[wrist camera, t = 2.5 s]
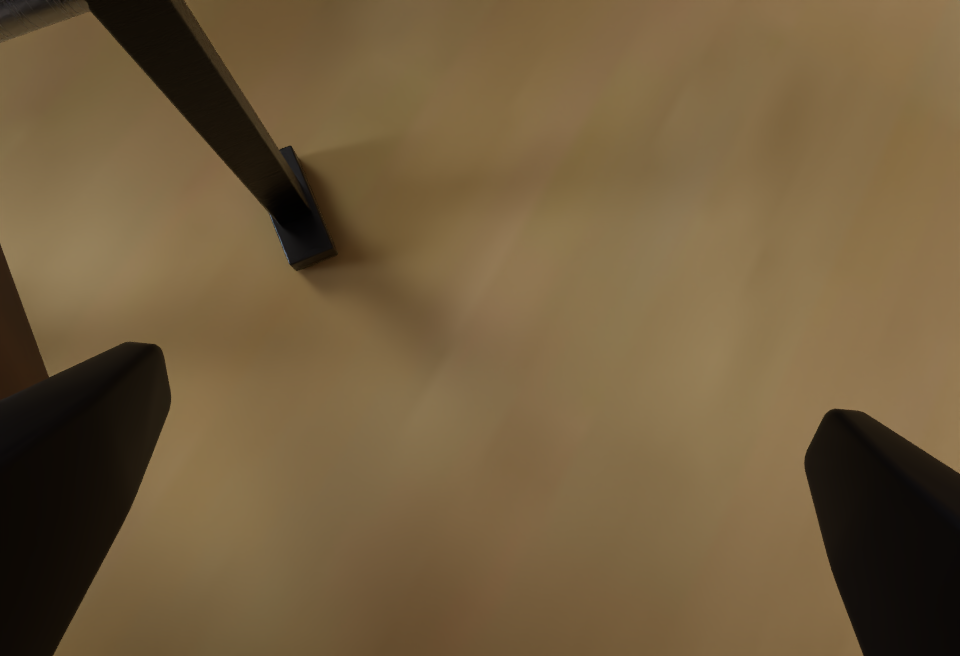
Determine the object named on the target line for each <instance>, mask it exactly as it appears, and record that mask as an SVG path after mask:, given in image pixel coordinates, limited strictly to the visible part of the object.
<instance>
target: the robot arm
mask: <svg viewBox="0 0 960 656" xmlns="http://www.w3.org/2000/svg"><path fill="white" fill-rule="evenodd" d="M170 404H171V391H170V386H169V381H168V375H167V370H166V365H165V360H164V355H163V352H162V350H161V348H160V347H159V346H157V345H156V344H148V343H138V342H125V343H122V344H120V345H118V346H116V347H114V348H112V349H109V350H107V351H105V352H103V353H101V354H99V355H97V356H94V357H92V358H90V359H88V360H86V361H84V362H82V363H79V364H77V365H75V366H73V367H71V368H69V369H67V370H64V371H62V372H60V373H58V374H56V375H54V376H52V377H49V378H47V379H45V380H43V381H41V382H39V383H37V384H34V385H32V386H30V387H28V388H26V389H24V390H22V391H20V392H17V393H15V394H13V395H11V396H9V397H7V398H5V399H2V400H0V656H53V654H54V652H55V650H56V649H57V647H58V645H59V643H60V641H61V639H62V637H63V635H64V634H65V632H66V630H67V628H68V626H69V624H70V622H71V620H72V619H73V617H74V615H75V613H76V611H77V609H78V607H79V605H80V604H81V602H82V600H83V598H84V596H85V594H86V592H87V590H88V588H89V587H90V585H91V583H92V581H93V579H94V577H95V575H96V573H97V572H98V570H99V568H100V566H101V564H102V562H103V560H104V558H105V557H106V555H107V553H108V551H109V549H110V547H111V545H112V543H113V542H114V540H115V538H116V536H117V534H118V532H119V530H120V528H121V526H122V525H123V523H124V521H125V518H126V516H127V514H128V512H129V510H130V508H131V506H132V504H133V501H134V499H135V497H136V494H137V492H138V489H139V487H140V484H141V482H142V479H143V476H144V474H145V471H146V469H147V466H148V464H149V461H150V458H151V456H152V453H153V451H154V448H155V446H156V443H157V441H158V438H159V435H160V433H161V430H162V428H163V425H164V423H165V420H166V417H167V415H168V412H169V409H170ZM804 464H805V472H806V476H807V480H808V484H809V487H810V491H811V495H812V499H813V503H814V507H815V511H816V514H817V518H818V522H819V526H820V530H821V534H822V537H823V541H824V545H825V549H826V553H827V556H828V560H829V563H830V566H831V570H832V573H833V575H834V578H835V581H836V584H837V587H838V590H839V592H840V595H841V597H842V600H843V603H844V605H845V608H846V611H847V613H848V616H849V618H850V621H851V624H852V626H853V629H854V632H855V634H856V637H857V640H858V642H859V645H860V647H861V650H862V653H863V655H864V656H960V474H959V473H958V472H956V471H954V470H953V469H951V468H950V467H948V466H947V465H945V464H944V463H942V462H940V461H939V460H937V459H936V458H934V457H933V456H931V455H930V454H928V453H926V452H925V451H923V450H922V449H920V448H919V447H917V446H916V445H914V444H912V443H911V442H909V441H908V440H906V439H905V438H903V437H902V436H900V435H898V434H897V433H895V432H894V431H892V430H891V429H889V428H888V427H886V426H884V425H883V424H881V423H880V422H878V421H877V420H875V419H874V418H872V417H870V416H869V415H867V414H866V413H864V412H861V411H855V410H844V409H832V410H830V411H828V412H827V413H826V414H825V415H824V417H823V419H822V421H821V423H820V425H819V427H818V429H817V431H816V433H815V435H814V437H813V439H812V441H811V443H810V445H809V447H808V449H807V452H806V455H805V462H804Z"/></svg>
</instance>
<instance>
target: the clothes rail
mask: <svg viewBox="0 0 960 656" xmlns="http://www.w3.org/2000/svg"><path fill="white" fill-rule="evenodd" d="M90 11H91V12H92V13H93V14H94V16H95V17H96V18H97V19H98V20H99V21H100V22H101V23H102V25H103V26H104V27H105V28H106V29H107V30H108V31H109V33H110V34H111V35H112V36H113V37H114V38H115V39H116V40H117V42H118V43H119V44H120V45H121V46H122V47H123V48H124V49H125V51H126V52H127V53H128V54H129V55H130V56H131V57H132V58H133V60H134V61H135V62H136V63H137V64H138V65H139V66H140V68H141V69H142V70H143V71H144V72H145V73H146V74H147V75H148V77H149V78H150V79H151V80H152V81H153V82H154V83H155V84H156V86H157V87H158V88H159V89H160V90H161V91H162V92H163V94H164V95H165V96H166V97H167V98H168V99H169V100H170V101H171V103H172V104H173V105H174V106H175V107H176V108H177V109H178V110H179V112H180V113H181V114H182V115H183V116H184V117H185V118H186V119H187V121H188V122H189V123H190V124H191V125H192V126H193V127H194V129H195V130H196V131H197V132H198V133H199V134H200V135H201V136H202V138H203V139H204V140H205V141H206V142H207V143H208V144H209V145H210V147H211V148H212V149H213V150H214V151H215V152H216V153H217V155H218V156H219V157H220V158H221V159H222V160H223V161H224V162H225V164H226V165H227V166H228V167H229V168H230V169H231V170H232V171H233V173H234V174H235V175H236V176H237V177H238V178H239V179H240V180H241V182H242V183H243V184H244V185H245V186H246V187H247V188H248V190H249V191H250V192H251V193H252V194H253V195H254V196H255V197H256V199H257V200H258V201H259V202H260V203H261V204H262V205H263V206H264V208H265V209H266V210H267V211H268V213H269V215H270V218H271V220H272V223H273V225H274V228H275V230H276V233H277V235H278V237H279V240H280V242H281V245H282V247H283V250H284V252H285V255H286V257H287V260H288V262H289V264H290V265H291V266H292V267H293V268H294V269H295V270H296V271H298V270H300V269H303V268H305V267H308V266H310V265H313V264H315V263H318V262H320V261H323V260H325V259H328V258H330V257H333V256H335V255H337V250H336V248H335V246H334V243H333V241H332V238H331V236H330V233H329V231H328V229H327V226H326V224H325V221H324V219H323V217H322V214H321V212H320V209H319V207H318V205H317V202H316V200H315V197H314V195H313V192H312V190H311V188H310V185H309V183H308V180H307V178H306V176H305V173H304V171H303V168H302V166H301V163H300V161H299V159H298V156H297V155H296V153H295V151H294V149H293V148H292V146H288V147H285V148H282V149H280V150H279V149H278V147H277V146H276V144H275V143H274V141H273V139H272V138H271V136H270V135H269V133H268V132H267V130H266V129H265V127H264V125H263V124H262V122H261V121H260V119H259V118H258V116H257V114H256V113H255V111H254V110H253V108H252V107H251V105H250V103H249V102H248V100H247V99H246V97H245V96H244V94H243V92H242V91H241V89H240V88H239V86H238V85H237V83H236V81H235V80H234V78H233V77H232V75H231V74H230V72H229V70H228V69H227V67H226V66H225V64H224V63H223V61H222V60H221V58H220V56H219V55H218V53H217V52H216V50H215V49H214V47H213V45H212V44H211V42H210V41H209V39H208V38H207V36H206V34H205V33H204V31H203V30H202V28H201V27H200V25H199V23H198V22H197V20H196V19H195V17H194V16H193V14H192V12H191V11H190V9H189V8H188V6H187V5H186V3H185V1H184V0H0V43H1V42H4V41H7V40H10V39H13V38H16V37H18V36H21V35H24V34H27V33H30V32H33V31H35V30H38V29H41V28H44V27H47V26H50V25H53V24H55V23H58V22H61V21H64V20H67V19H70V18H72V17H75V16H78V15H81V14H84V13H87V12H90Z"/></svg>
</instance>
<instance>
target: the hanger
mask: <svg viewBox="0 0 960 656" xmlns="http://www.w3.org/2000/svg"><path fill="white" fill-rule="evenodd" d="M47 378H49V376H48V374H47V371H46V368H45V365H44V363H43V360H42V357H41V354H40V352H39V349H38V346H37V343H36V341H35V338H34V335H33V333H32V330H31V327H30V324H29V322H28V319H27V316H26V313H25V311H24V308H23V305H22V302H21V300H20V297H19V294H18V291H17V289H16V286H15V283H14V280H13V278H12V275H11V272H10V270H9V267H8V264H7V261H6V259H5V256H4V253H3V250H2V248H1V245H0V400H2V399H5V398H7V397H9V396H11V395H13V394H15V393H17V392H20V391H22V390H24V389H26V388H28V387H30V386H32V385H34V384H37V383H39V382H41V381H43V380H45V379H47Z"/></svg>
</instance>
